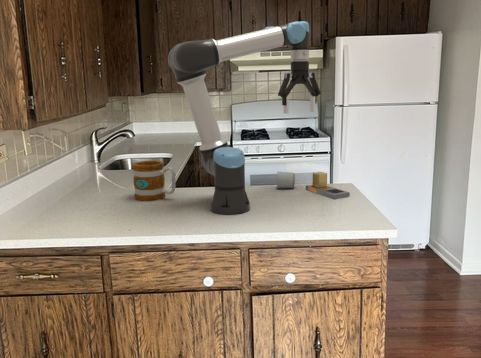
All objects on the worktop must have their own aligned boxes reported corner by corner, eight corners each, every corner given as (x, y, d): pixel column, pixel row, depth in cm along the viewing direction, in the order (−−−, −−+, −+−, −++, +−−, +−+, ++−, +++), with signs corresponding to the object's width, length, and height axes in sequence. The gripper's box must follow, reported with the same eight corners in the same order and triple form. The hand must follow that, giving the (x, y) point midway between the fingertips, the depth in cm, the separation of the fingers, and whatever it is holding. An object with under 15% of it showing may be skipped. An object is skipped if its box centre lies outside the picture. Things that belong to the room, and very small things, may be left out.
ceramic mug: (295, 189, 209) (295, 173, 207) (276, 190, 209) (276, 173, 208) (293, 184, 219) (293, 168, 218) (276, 185, 220) (276, 169, 218)
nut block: (318, 192, 203) (318, 174, 202) (312, 190, 207) (312, 172, 206) (326, 191, 205) (327, 173, 204) (320, 189, 209) (320, 171, 208)
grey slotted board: (334, 199, 192) (334, 194, 191) (305, 189, 209) (305, 185, 208) (349, 196, 195) (349, 191, 195) (320, 187, 212) (320, 183, 212)
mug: (128, 200, 198) (125, 165, 195) (145, 192, 210) (143, 159, 207) (168, 203, 191) (166, 167, 187) (184, 195, 203) (182, 162, 200)
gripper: (279, 60, 184) (279, 114, 188) (329, 60, 195) (328, 111, 200) (269, 61, 190) (269, 113, 195) (318, 61, 202) (317, 110, 206)
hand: (299, 112), depth 197 cm, fingers open, 13 cm apart
